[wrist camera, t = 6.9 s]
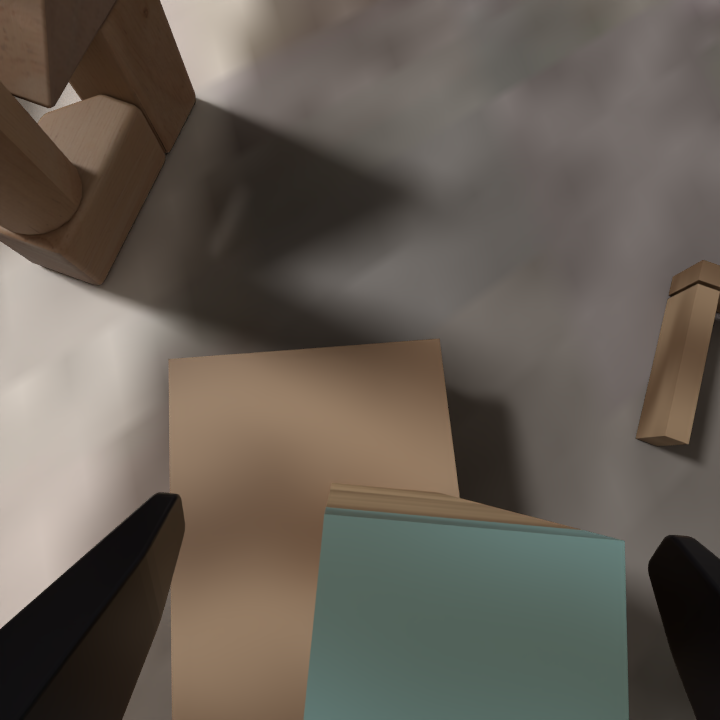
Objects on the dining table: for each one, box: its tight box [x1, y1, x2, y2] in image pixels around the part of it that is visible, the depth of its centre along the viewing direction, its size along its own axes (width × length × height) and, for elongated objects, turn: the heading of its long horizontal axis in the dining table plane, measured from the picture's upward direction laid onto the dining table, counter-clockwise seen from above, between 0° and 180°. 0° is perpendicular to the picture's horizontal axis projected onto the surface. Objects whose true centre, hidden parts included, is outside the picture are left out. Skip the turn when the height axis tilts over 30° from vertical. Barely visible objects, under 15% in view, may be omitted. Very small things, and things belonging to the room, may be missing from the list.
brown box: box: [169, 339, 460, 720], centre depth 18 cm, size 14×10×4 cm
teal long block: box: [304, 483, 629, 720], centre depth 11 cm, size 4×4×11 cm
